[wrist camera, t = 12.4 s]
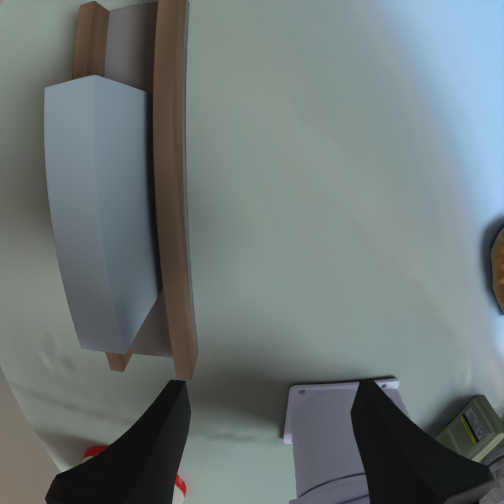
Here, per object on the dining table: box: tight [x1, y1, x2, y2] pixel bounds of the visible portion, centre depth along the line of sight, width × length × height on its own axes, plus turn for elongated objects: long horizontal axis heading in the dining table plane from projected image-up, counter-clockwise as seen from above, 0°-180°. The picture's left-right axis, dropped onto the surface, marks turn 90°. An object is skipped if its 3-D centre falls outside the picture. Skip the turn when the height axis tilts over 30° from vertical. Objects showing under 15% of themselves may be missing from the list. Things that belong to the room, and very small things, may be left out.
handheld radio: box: [435, 395, 504, 462], centre depth 26 cm, size 7×3×25 cm
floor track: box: [72, 0, 198, 379], centre depth 17 cm, size 6×24×3 cm, turn 0°
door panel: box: [44, 75, 163, 354], centre depth 15 cm, size 2×12×7 cm, turn 179°
